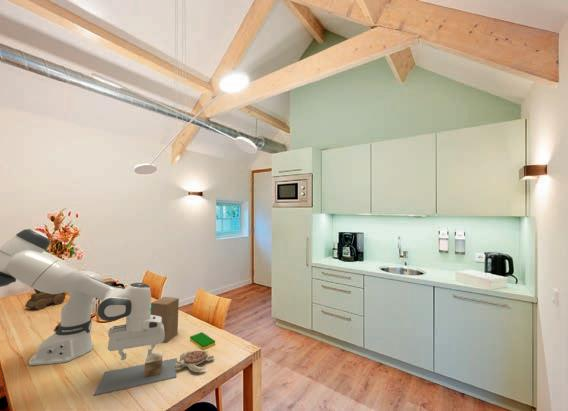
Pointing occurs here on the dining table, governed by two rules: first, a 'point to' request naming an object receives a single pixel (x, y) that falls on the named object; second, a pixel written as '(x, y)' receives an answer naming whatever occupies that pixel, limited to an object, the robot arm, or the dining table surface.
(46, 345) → the robot arm
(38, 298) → the wooden toy train
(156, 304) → the wooden block
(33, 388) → the dining table surface
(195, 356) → the decorative turtle
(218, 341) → the dining table surface
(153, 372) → the letter cube
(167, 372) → the mat
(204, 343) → the dish sponge
